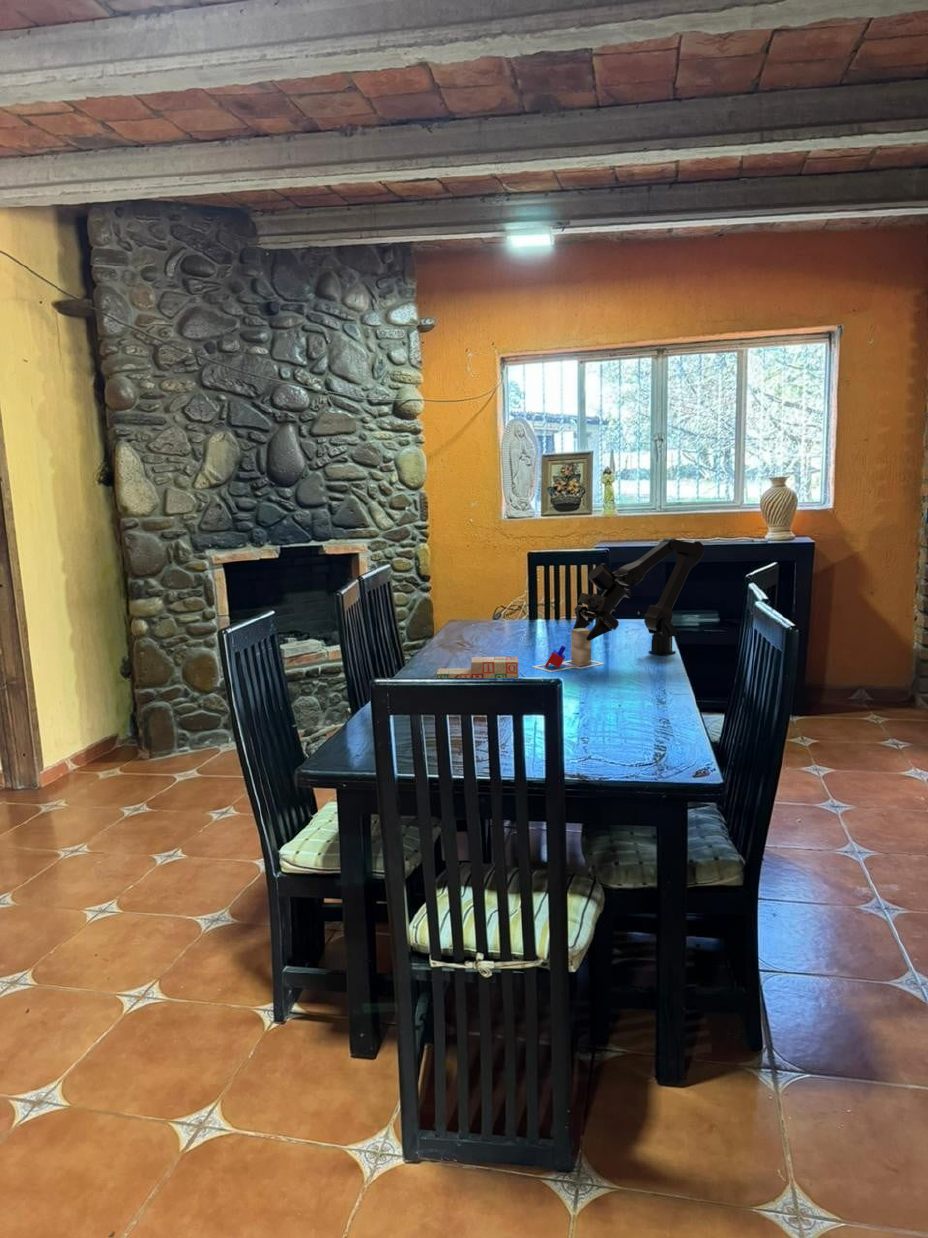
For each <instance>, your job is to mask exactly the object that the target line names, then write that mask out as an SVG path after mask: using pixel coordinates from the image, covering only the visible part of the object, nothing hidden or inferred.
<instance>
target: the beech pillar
mask: <svg viewBox="0 0 928 1238" xmlns="http://www.w3.org/2000/svg"><path fill="white" fill-rule="evenodd" d="M591 630H592V629H589V628H587V627H586V628H577V629H573V628H571V629H570V641H571V642H570V646H571V647H570V648H571V649H570V654H571V655H570V657H571V659H570V660H571V662H570V664H573V665H576V666H579V667H583V666H589V665H592V662H591V660H592V640H590V641H588V640H587V639H586V638H587V636H588V635H589V633H590V631H591Z"/></svg>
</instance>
